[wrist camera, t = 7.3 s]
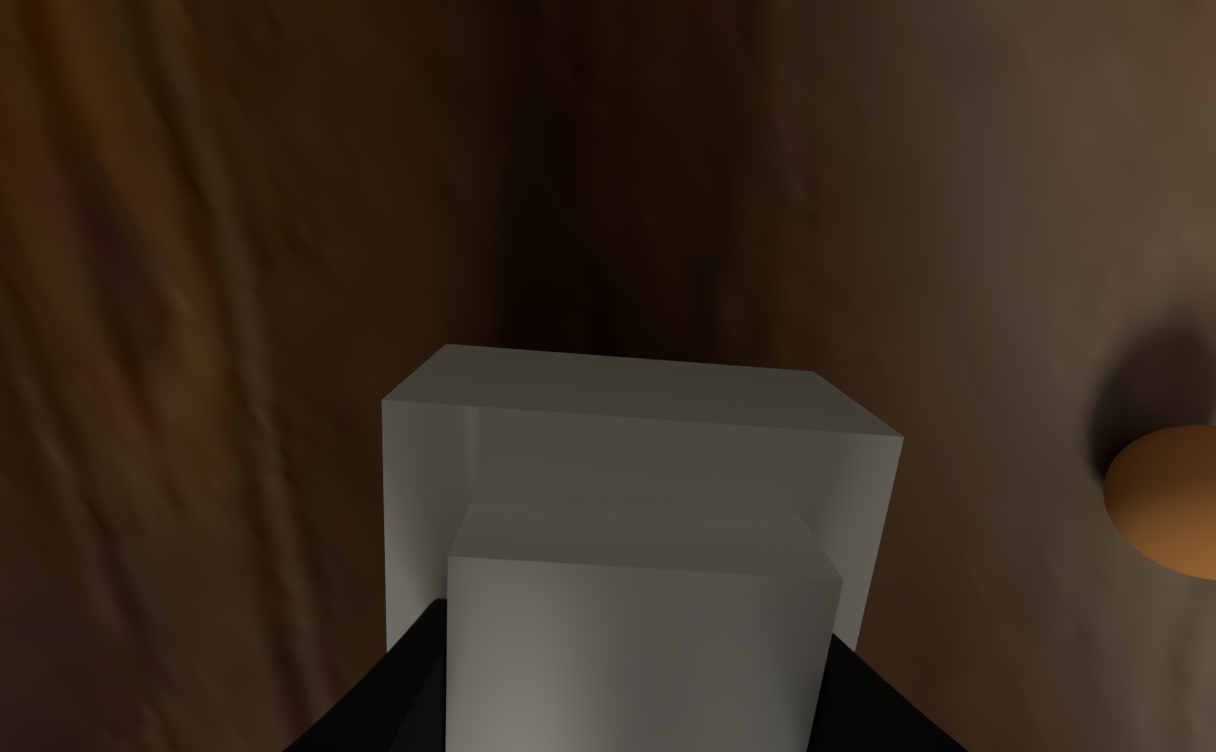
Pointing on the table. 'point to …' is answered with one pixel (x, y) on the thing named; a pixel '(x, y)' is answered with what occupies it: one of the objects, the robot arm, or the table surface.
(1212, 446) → the ball
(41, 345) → the table surface
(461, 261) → the table surface
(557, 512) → the white block
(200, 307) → the table surface
